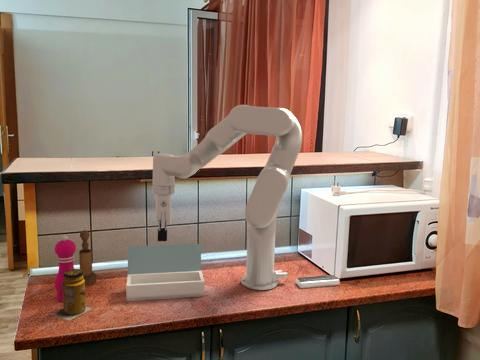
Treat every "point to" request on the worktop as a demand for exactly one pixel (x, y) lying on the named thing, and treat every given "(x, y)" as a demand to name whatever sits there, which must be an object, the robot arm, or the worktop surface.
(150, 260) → the cover
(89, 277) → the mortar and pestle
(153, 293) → the white open box
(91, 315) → the worktop surface
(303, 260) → the worktop surface
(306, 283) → the multiport hub
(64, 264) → the pepper mill
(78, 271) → the condiment
